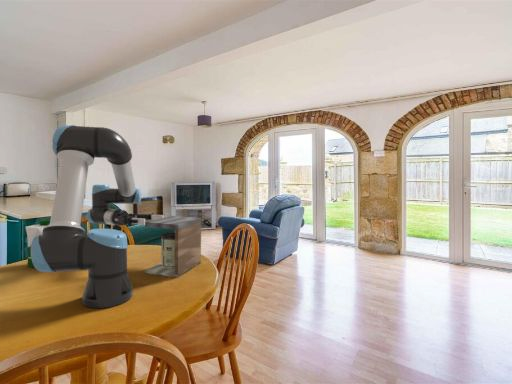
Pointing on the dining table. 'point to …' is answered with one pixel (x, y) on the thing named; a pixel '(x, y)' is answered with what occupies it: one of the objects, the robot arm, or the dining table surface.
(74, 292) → the dining table surface
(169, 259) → the coffee can
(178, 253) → the brown piece
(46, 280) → the dining table surface
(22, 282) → the dining table surface
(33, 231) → the milk carton
